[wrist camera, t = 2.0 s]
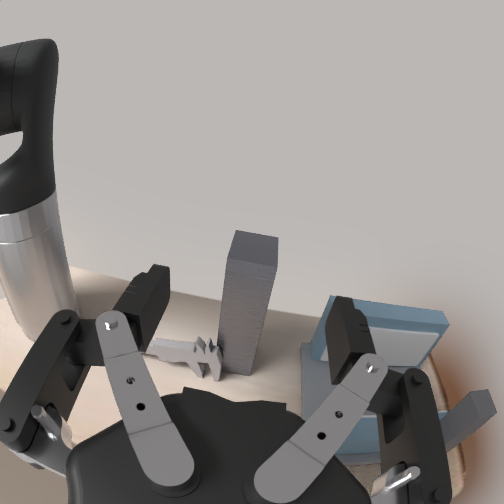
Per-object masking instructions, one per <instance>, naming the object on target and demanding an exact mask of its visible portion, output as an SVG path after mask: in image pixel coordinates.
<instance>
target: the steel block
mask: <svg viewBox="0 0 504 504" xmlns="http://www.w3.org/2000/svg"><path fill="white" fill-rule="evenodd" d="M277 264H278V238H277V237H272V236H266V235H261V234H255V233H249V232H244V231H238V230H236V232H235V235H234V238H233V241H232V244H231V248H230V251H229V254H228V257H227V264H226V273H225V280H224V288H223V297H222V305H221V313H220V322H219V331H218V339H217V346H219V349H220V352H221V356H222V368H221V371H223V372H229V373H234V374H240V375H246V376H250V372H251V369H252V365H253V361H254V357H255V354H256V350H257V346H258V342H259V338H260V335H261V331H262V327H263V323H264V319H265V315H266V311H267V307H268V303H269V299H270V295H271V291H272V287H273V283H274V279H275V275H276V271H277Z"/></svg>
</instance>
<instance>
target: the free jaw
mask: <svg viewBox="0 0 504 504" xmlns="http://www.w3.org/2000/svg"><path fill="white" fill-rule="evenodd" d="M496 413H497V411H496V408H495V406H494V403H493V401H492V398H491V396H490V393H489V391H488V389H487V390H480V391H472V392H469V393H468V394H467V396H465V398H463V399H462V401H460V402H459V403H458V404H457V405H456V406H455V407H454V408H453V409H452V410H451V411H450V412H447V410H443V411H438V415H439V420H440V424H441V429H442V433H443V438H444V443H445V448H446V453H447V452H448V451H449V450H451V449H452V448H454V447H455V446H456V445H458V444H459V443H460V442H462V441H463V440H464V439H466V438H467V437H468V436H470V435H471V434H472V433H473V432H475V431H476V430H477V429H478V428H480V427H481V426H482V425H483V424H484V423H486V422H487V421H488V420H489V419H490V418H491V417H492V416H494V415H495V414H496ZM378 452H380V447H379V435H378V425H377V416H376V415H362V417H361V418H360V420H359V421H358V422H357V424H356V425H355V427H354V428H353V430H352V431H351V432H350V434H349V435H348V437H347V438H346V439H345V441H344V442H343V443H342V445H341V446H340V447H339V449H338V450H337V451H336V453H335V454H363V453H378Z"/></svg>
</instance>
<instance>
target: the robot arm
mask: <svg viewBox="0 0 504 504" xmlns="http://www.w3.org/2000/svg"><path fill="white" fill-rule="evenodd" d="M58 61H59V57H58V49H57V45H56V43H55V42H54V41H53V40H52V39H38V40H31V41H26V42H21V43H16V44H12V45H7V46H3V47H0V136H1V135H5V134H9V133H14V132H19V131H23V141H22V145H21V146H20V147H19V149H18V150H17V151H16V152H15V153H14V154H13V155H12V156H11V157H10V158H9V159H7V160H6V161H5V162H4V163H2V164H1V165H0V283H1V285H2V288H3V291H4V293H5V296H6V298H7V301H8V303H9V305H10V308H11V310H12V312H13V315H14V317H15V319H16V321H17V323H19V324H20V325H21V328H22V330H23V332H24V333H25V335H26V336H27V337H28V338H29V339H31V340H33V341H35V343H34V345H33V346H32V348H31V349H30V351H29V353H28V354H27V356H26V358H25V359H24V361H23V363H22V364H21V366H20V368H19V369H18V371H17V373H16V374H15V376H14V378H13V380H12V382H11V383H10V385H9V387H8V389H7V391H6V393H5V395H4V397H3V398H2V400H1V402H0V441H1V442H2V443H4V444H5V445H6V446H7V448H8V449H9V450H11V451H12V452H13V453H14V454H16V455H17V456H18V457H20V458H21V459H22V460H24V461H25V462H27V463H29V464H30V465H32V466H33V467H35V468H37V469H45V468H46V469H48V470H50V471H52V472H54V473H56V474H58V475H60V476H63V477H65V478H66V480H67V485H68V504H449V503H450V501H451V499H452V487H451V479H450V472H449V466H448V460H447V454H446V448H445V443H444V438H443V433H442V429H441V424H440V420H439V415H438V411H437V407H436V403H435V399H434V396H433V392H432V388H431V385H430V381H429V378H428V376H427V375H426V374H425V373H424V372H423V371H422V370H420V369H417V368H409V369H407V370H406V371H405V373H404V374H403V373H399V372H396V371H393V370H391V369H388V366H387V364H386V362H385V361H384V359H382V358H381V357H380V356H378V355H377V354H376V350H375V347H374V343H373V339H372V336H371V333H370V329H369V327H368V322H367V319H366V316H365V315H364V314H363V313H362V311H361V310H360V309H355V306H354V302H353V299H352V298H349V297H342V296H336V298H335V300H334V302H333V305H332V307H331V310H330V312H329V315H328V317H327V320H326V324H325V336H326V344H327V351H328V360H329V368H330V377H331V385H337V386H336V388H335V389H334V390H333V391H332V393H331V394H330V395H329V396H328V397H327V398H326V400H325V401H324V402H323V403H322V404H321V405H320V407H319V408H318V409H317V410H316V411H315V412H314V413H313V415H312V416H311V417H310V418H309V419H308V420H307V421H305V420H304V419H302V418H301V417H299V416H298V415H296V414H294V413H292V412H290V411H287V410H286V403H279V402H270V401H262V400H260V401H247V402H233V401H230V400H227V399H225V398H222V397H220V396H218V395H215V394H213V393H211V392H207V391H202V390H198V389H193V388H188V387H184V388H183V392H182V393H176V394H169V395H165V396H162V397H160V396H159V394H158V392H157V389H156V387H155V385H154V383H153V380H152V378H151V376H150V373H149V371H148V369H147V366H146V364H145V361H144V359H143V357H142V354H141V352H143V353H146V350H147V348H148V346H149V344H150V342H151V339H152V337H153V335H154V333H155V331H156V329H157V326H158V324H159V322H160V320H161V318H162V316H163V314H164V311H165V309H166V307H167V305H168V302H169V298H170V269H169V267H166V266H162V265H156V264H154V265H153V266H152V267H151V268H150V270H149V272H148V273H144V272H142V273H140V274H139V275H137V276H136V277H134V278H133V280H132V281H131V283H130V284H129V286H128V287H127V288H126V291H124V293H123V294H122V296H121V297H120V299H119V300H118V302H117V303H116V305H115V306H114V308H113V309H112V310H111V311H106V312H104V313H102V314H100V315H99V316H98V317H97V319H93V320H92V319H79V318H80V310H79V306H78V303H77V299H76V295H75V291H74V287H73V283H72V279H71V275H70V270H69V266H68V262H67V257H66V252H65V247H64V241H63V236H62V230H61V224H60V217H59V210H58V203H57V194H56V184H55V174H54V162H53V140H52V138H53V114H54V103H55V94H56V85H57V75H58ZM91 366H105V367H106V371H107V374H108V378H109V381H110V384H111V387H112V391H113V394H114V397H115V400H116V403H117V406H118V408H119V411H120V414H121V417H122V420H120V421H118V422H117V423H115V424H113V425H111V426H110V427H108V428H106V429H104V430H103V431H101V432H99V433H97V434H95V435H94V436H92V437H90V438H88V439H86V440H84V441H83V442H81V443H79V444H78V445H76V446H75V447H74V448H73V449H72V447H71V439H72V431H71V428H70V426H69V425H68V423H67V420H68V418H69V415H70V413H71V411H72V408H73V406H74V403H75V401H76V399H77V396H78V394H79V392H80V389H81V387H82V385H83V383H84V380H85V378H86V376H87V374H88V372H89V370H90V367H91ZM366 410H367V411H371V412H374V413H376V416H377V425H378V435H379V447H380V460H381V475H379V476H378V477H377V478H376V479H375V481H374V483H373V487H372V492H371V494H370V496H369V494H368V492H367V490H366V489H365V488H364V487H363V486H362V485H361V484H360V482H359V481H358V480H357V479H356V478H355V477H354V476H353V475H352V474H351V473H350V471H349V470H348V469H347V468H346V467H345V466H344V465H343V464H342V462H341V461H340V460H339V459H338V458H337V457H336V456H335V453H336V451H337V450H338V449H339V447H340V446H341V445H342V443H343V442H344V441H345V439H346V438H347V437H348V435H349V434H350V432H351V431H352V430H353V428H354V427H355V425H356V424H357V422H358V421H359V420H360V418H361V417H362V415H363V414H364V412H365V411H366Z"/></svg>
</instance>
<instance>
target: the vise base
mask: <svg viewBox="0 0 504 504" xmlns="http://www.w3.org/2000/svg"><path fill="white" fill-rule="evenodd" d="M335 298H336V296H330V298H329V300H328V303H327V305H326V308H325V310H324V312H323V315H322V317H321V320H320V322H319V325H318V327H317V329H316V332H315V334H314V336H313V339H312V341H311V343H310V344H308V343H302V345H301V388H302V419H304V420H305V421H307V420H308V419H309V418H310V417H311V416H312V415H313V413H314V412H315V411H316V410H317V409H318V408H319V407H320V405H321V404H322V403H323V402H324V401H325V400H326V398H327V397H328V396H329V395H330V394H331V393H332V391H333V390H334V389H335V388H336V386H337V385H331V377H330V368H329V360H328V351H327V344H326V336H325V324H326V320H327V317H328V315H329V312H330V310H331V307H332V305H333V302H334V300H335ZM353 302H354V306H355V309H360V310H361V311H362V313H363V314H364V315H365V316H366V319H367V322H368V327H369V329H370V333H371V336H372V339H373V343H374V347H375V350H376V354H377V355H378V356H380V357H381V358H382V359H384V361H385V362H386V364H387V366H388V369H391V370H393V371H396V372H399V373H403V374H404V373H405V371H406V370H407V369H409V368H417V369H420V367H419V366H420V365H421V364H422V363H423V361H424V360H425V359H426V357H427V356H428V355H429V353H430V352H431V351H432V349H433V348H434V347H435V345H436V344H437V342H438V341H439V340H440V338H441V337H442V335H443V334H444V333H445V331H446V330H447V328H448V326H449V323H448V321H447V319H446V317H445V315H444V313H443V312H442V311H437V310H429V309H422V308H414V307H406V306H398V305H392V304H385V303H378V302H371V301H364V300H357V299H353ZM363 415H376V413H374V412H371V411H367V410H366V411H365V412H364V414H363ZM335 456H336V457H337V458H338V459H339V460H340V461H341V462H342V464H343V465H344V466H352V465H367V464H378V463H381V460H380V452H378V453H363V454H335Z"/></svg>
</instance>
